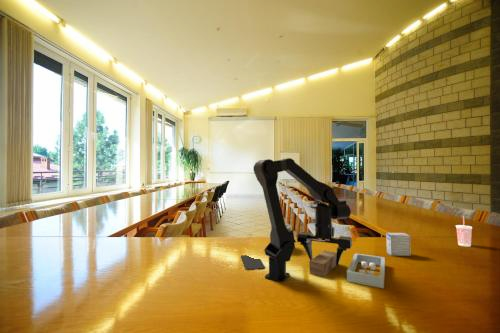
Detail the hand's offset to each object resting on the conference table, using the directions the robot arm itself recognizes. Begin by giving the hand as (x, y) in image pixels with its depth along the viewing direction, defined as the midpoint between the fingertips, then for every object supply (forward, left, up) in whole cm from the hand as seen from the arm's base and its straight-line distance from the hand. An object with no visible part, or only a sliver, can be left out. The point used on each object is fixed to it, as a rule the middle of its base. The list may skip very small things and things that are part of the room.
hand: (324, 263), depth 91 cm
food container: (+17, +22, -2) cm, 28 cm away
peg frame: (+3, -14, -2) cm, 14 cm away
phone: (-7, +26, -2) cm, 27 cm away
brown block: (0, 0, -2) cm, 2 cm away
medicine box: (+31, -24, -2) cm, 39 cm away
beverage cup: (+62, -52, -2) cm, 81 cm away
